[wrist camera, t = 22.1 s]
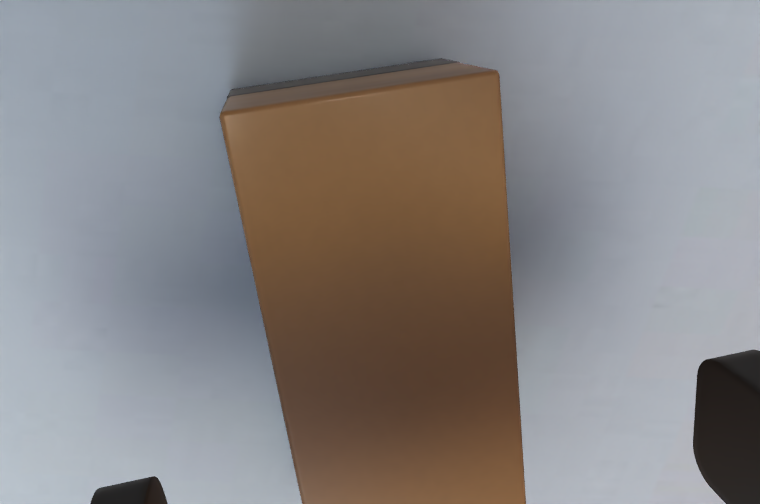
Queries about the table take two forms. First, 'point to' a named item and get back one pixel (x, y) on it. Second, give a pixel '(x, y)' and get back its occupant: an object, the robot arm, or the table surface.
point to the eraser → (385, 279)
